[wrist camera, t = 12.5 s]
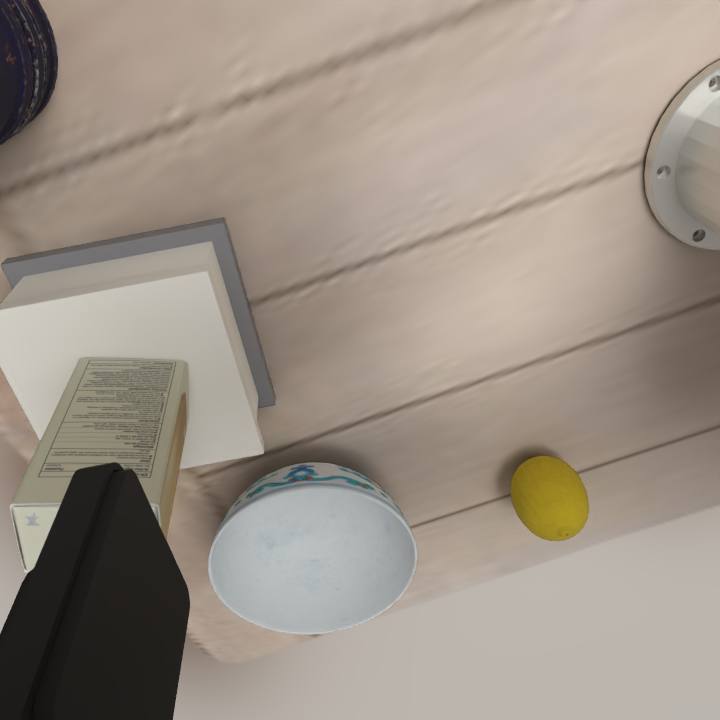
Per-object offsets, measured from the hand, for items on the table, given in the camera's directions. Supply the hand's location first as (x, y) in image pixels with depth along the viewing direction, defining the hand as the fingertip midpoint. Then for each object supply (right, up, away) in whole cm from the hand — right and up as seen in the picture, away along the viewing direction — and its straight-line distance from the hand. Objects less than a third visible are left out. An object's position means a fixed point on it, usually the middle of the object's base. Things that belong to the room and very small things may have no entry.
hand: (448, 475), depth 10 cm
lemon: (+13, -7, +45) cm, 47 cm away
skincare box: (-14, 0, +29) cm, 33 cm away
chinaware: (-5, -9, +44) cm, 45 cm away
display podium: (-16, +4, +35) cm, 39 cm away
